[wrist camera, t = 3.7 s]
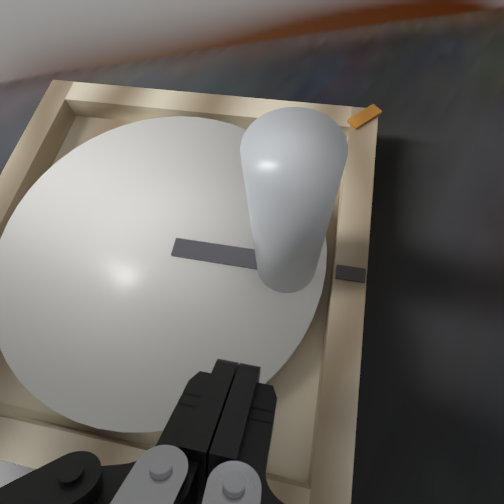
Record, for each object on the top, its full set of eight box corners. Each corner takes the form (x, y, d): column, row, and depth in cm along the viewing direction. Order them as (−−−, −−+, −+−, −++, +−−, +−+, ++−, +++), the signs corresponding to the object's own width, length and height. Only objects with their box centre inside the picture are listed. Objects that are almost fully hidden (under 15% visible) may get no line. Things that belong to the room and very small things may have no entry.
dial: (-53, 389, 18) (-412, 370, 9) (78, 119, 25) (-44, -57, 16) (300, 469, 16) (332, 564, 6) (338, 146, 23) (382, -42, 13)
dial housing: (-79, 422, 19) (-143, 425, 16) (76, 110, 28) (52, 75, 25) (340, 525, 16) (354, 551, 13) (370, 140, 25) (382, 104, 22)
